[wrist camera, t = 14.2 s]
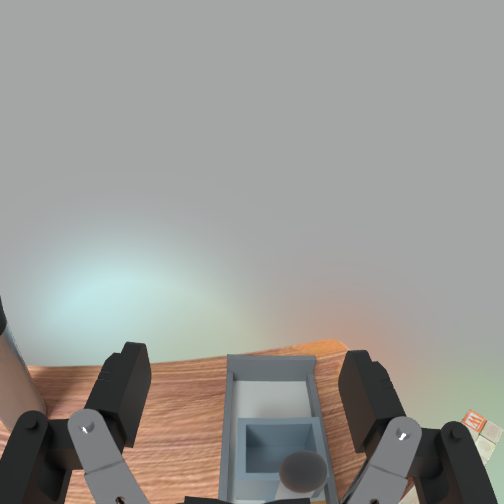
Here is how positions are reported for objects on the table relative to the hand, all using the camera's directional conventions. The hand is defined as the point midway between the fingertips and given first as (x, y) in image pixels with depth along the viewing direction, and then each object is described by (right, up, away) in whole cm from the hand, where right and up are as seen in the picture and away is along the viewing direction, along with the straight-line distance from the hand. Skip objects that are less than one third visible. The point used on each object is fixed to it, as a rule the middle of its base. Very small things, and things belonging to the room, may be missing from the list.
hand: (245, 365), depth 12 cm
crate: (+3, -25, +19) cm, 31 cm away
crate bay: (+3, -22, +28) cm, 36 cm away
